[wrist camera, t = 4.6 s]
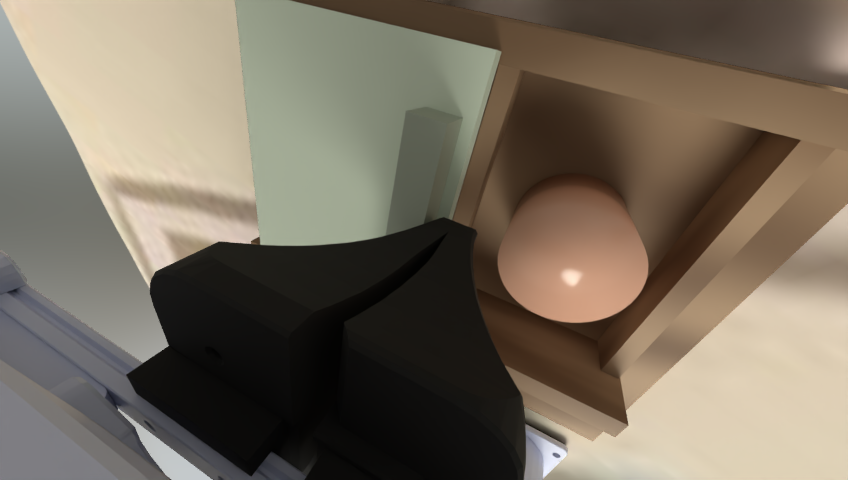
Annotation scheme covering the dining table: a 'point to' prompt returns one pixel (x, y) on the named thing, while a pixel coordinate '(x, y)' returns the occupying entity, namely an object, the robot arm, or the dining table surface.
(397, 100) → the lid
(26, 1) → the dining table surface
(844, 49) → the dining table surface
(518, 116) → the brown wooden tray
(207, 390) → the robot arm
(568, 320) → the tan domed cylinder
